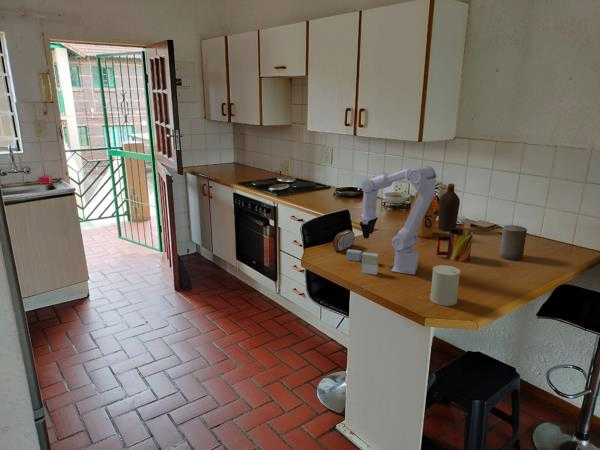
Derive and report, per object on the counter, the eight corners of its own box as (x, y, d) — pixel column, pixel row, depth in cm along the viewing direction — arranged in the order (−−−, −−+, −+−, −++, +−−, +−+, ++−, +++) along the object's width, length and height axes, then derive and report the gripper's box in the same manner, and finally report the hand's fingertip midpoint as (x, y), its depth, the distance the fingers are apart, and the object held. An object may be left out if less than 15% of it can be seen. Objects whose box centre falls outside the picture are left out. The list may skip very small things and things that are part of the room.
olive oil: (455, 233, 232) (460, 186, 225) (434, 230, 236) (439, 184, 229) (458, 227, 241) (463, 183, 234) (438, 225, 245) (442, 181, 238)
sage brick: (377, 263, 178) (378, 253, 177) (376, 265, 175) (376, 256, 174) (363, 261, 180) (363, 252, 179) (361, 263, 177) (362, 254, 176)
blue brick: (361, 259, 193) (361, 250, 192) (359, 261, 191) (359, 253, 189) (348, 257, 195) (348, 249, 194) (346, 259, 193) (346, 251, 192)
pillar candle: (527, 259, 194) (532, 227, 190) (507, 261, 192) (512, 228, 188) (513, 252, 203) (518, 221, 199) (494, 253, 201) (498, 222, 197)
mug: (435, 257, 196) (437, 231, 193) (458, 252, 202) (461, 228, 199) (450, 264, 188) (453, 237, 185) (474, 259, 194) (477, 234, 190)
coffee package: (419, 239, 221) (422, 196, 215) (406, 232, 233) (409, 191, 226) (435, 237, 224) (440, 195, 218) (422, 230, 236) (425, 190, 229)
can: (450, 308, 148) (454, 275, 145) (425, 300, 154) (428, 268, 151) (461, 299, 155) (464, 268, 152) (436, 292, 161) (439, 261, 158)
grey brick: (377, 272, 179) (378, 263, 178) (376, 274, 176) (376, 265, 175) (363, 270, 181) (364, 261, 180) (361, 272, 178) (362, 263, 177)
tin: (349, 244, 213) (350, 227, 211) (355, 245, 211) (356, 228, 209) (332, 252, 202) (332, 234, 199) (337, 253, 200) (338, 236, 198)
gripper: (364, 201, 196) (363, 230, 200) (356, 208, 183) (355, 239, 187) (380, 202, 193) (378, 232, 197) (372, 210, 180) (371, 241, 184)
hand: (368, 235), depth 192 cm, fingers open, 7 cm apart
